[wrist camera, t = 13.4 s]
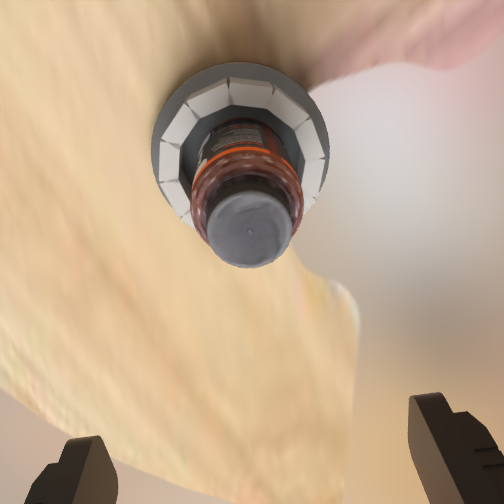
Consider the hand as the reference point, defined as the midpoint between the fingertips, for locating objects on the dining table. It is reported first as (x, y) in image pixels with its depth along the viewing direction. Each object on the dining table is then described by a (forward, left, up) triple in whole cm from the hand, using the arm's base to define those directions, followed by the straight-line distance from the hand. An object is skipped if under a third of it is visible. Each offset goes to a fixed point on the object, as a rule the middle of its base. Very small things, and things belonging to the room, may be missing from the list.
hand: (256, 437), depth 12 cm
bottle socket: (-1, -1, -23) cm, 23 cm away
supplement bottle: (-1, -1, -22) cm, 22 cm away
